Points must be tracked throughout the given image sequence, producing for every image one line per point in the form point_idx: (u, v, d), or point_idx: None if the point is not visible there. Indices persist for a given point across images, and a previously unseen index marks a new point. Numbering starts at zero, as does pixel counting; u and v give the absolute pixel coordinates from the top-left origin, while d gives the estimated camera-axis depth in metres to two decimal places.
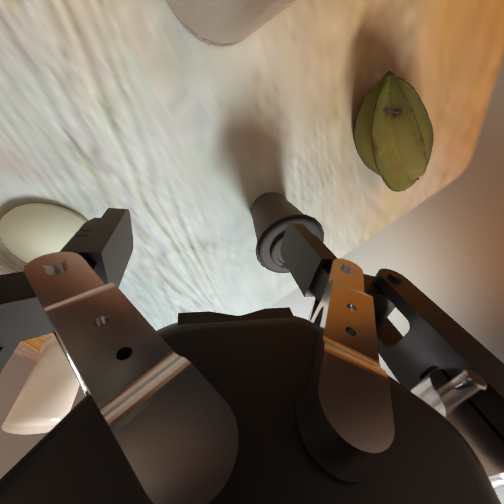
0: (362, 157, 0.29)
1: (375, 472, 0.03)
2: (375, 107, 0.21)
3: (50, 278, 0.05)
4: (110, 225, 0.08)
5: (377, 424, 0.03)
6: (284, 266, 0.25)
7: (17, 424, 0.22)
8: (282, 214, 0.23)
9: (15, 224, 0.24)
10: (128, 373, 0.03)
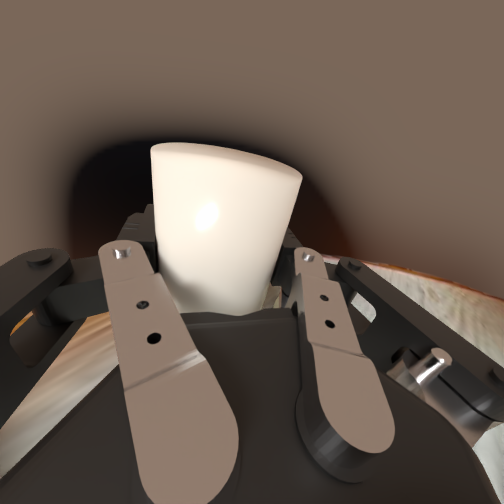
0: None
1: (375, 472, 0.03)
2: None
3: (122, 261, 0.06)
4: (154, 219, 0.09)
5: (377, 424, 0.03)
6: None
7: (244, 155, 0.09)
8: None
9: None
10: (152, 358, 0.04)
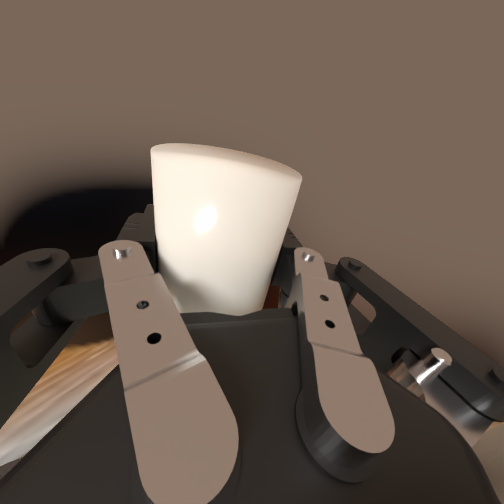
0: None
1: (375, 472, 0.03)
2: None
3: (121, 260, 0.06)
4: (154, 219, 0.09)
5: (377, 424, 0.03)
6: None
7: (244, 156, 0.09)
8: None
9: None
10: (152, 357, 0.04)
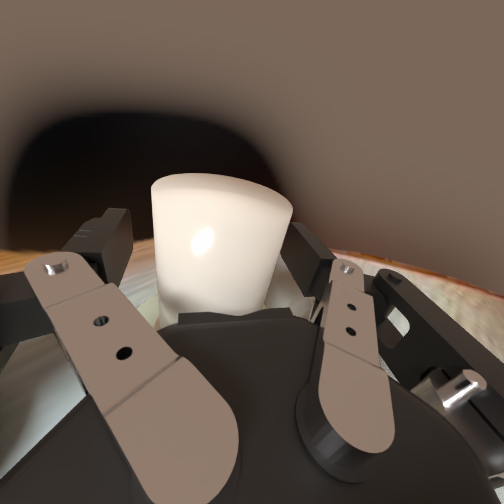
0: None
1: (375, 472, 0.03)
2: None
3: (50, 278, 0.05)
4: (110, 225, 0.08)
5: (377, 424, 0.03)
6: None
7: (239, 185, 0.10)
8: None
9: None
10: (127, 373, 0.03)
